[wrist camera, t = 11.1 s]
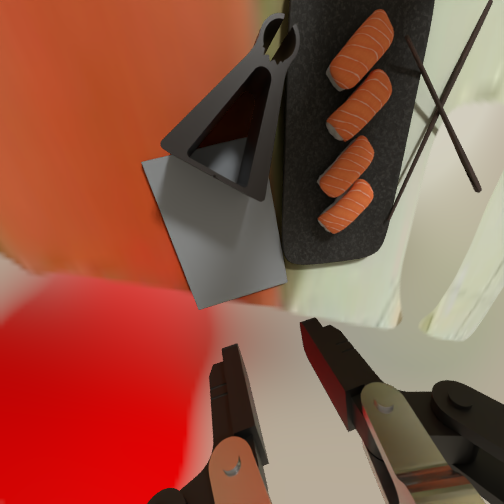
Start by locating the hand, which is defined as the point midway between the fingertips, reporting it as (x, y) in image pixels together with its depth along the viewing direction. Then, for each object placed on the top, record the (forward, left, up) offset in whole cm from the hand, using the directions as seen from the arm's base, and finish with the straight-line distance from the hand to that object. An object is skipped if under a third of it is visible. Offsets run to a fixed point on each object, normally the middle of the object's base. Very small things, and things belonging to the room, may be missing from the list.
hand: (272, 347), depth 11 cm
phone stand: (0, -6, -15) cm, 16 cm away
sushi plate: (-23, -5, -19) cm, 30 cm away
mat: (0, 0, -18) cm, 18 cm away
